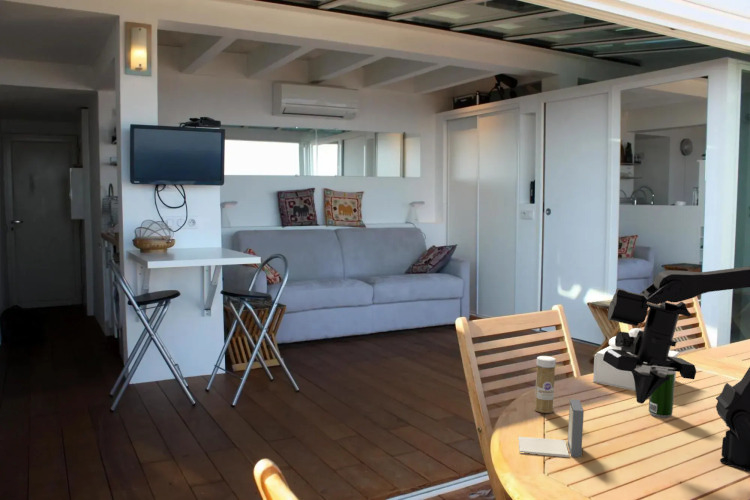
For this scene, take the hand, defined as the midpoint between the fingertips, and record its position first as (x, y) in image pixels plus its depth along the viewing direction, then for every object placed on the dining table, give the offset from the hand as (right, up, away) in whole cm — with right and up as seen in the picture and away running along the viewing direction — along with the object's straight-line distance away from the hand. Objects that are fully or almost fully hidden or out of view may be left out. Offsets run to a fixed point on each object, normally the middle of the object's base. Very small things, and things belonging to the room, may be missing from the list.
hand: (639, 402), depth 141 cm
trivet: (-19, -10, +4) cm, 22 cm away
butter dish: (+19, -6, +52) cm, 56 cm away
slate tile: (-13, -11, +3) cm, 17 cm away
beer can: (+15, -9, +25) cm, 31 cm away
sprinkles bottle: (-13, -8, +27) cm, 31 cm away
